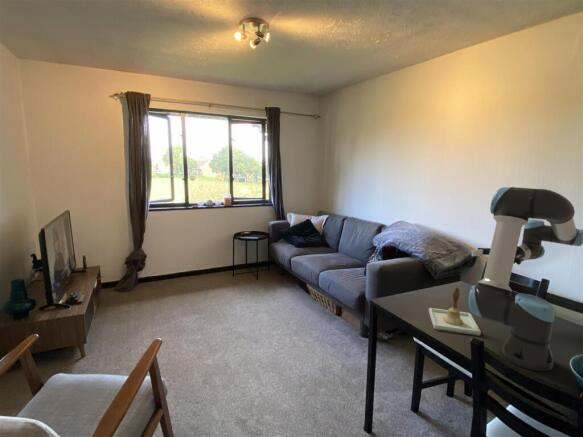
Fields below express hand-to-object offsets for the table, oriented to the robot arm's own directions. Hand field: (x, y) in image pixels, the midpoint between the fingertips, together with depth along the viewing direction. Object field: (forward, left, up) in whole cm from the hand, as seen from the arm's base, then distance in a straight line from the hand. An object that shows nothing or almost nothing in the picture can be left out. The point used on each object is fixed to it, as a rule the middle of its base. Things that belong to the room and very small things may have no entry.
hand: (485, 257), depth 144 cm
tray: (-8, +12, -30) cm, 33 cm away
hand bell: (-8, +12, -29) cm, 33 cm away
